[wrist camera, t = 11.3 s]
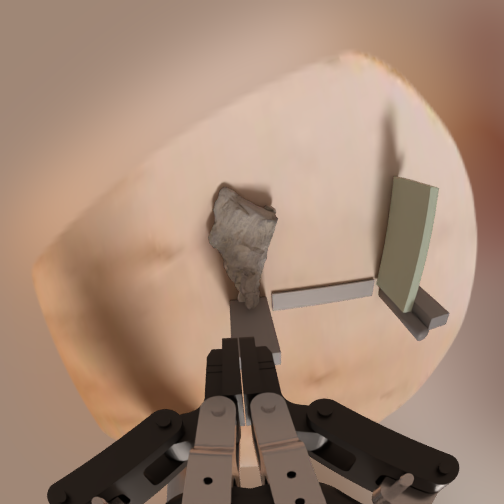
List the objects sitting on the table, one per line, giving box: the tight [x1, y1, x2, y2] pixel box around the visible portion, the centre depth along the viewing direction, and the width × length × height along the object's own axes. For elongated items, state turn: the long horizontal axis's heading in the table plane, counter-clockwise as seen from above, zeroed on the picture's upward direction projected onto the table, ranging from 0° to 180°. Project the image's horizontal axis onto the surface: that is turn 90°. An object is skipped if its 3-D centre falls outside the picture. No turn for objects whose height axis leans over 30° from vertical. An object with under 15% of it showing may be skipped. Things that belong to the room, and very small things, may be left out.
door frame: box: [230, 279, 449, 369], centre depth 29 cm, size 3×24×10 cm, turn 94°
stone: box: [208, 187, 278, 310], centre depth 29 cm, size 6×12×4 cm, turn 170°
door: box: [376, 176, 439, 313], centre depth 28 cm, size 2×14×7 cm, turn 179°
